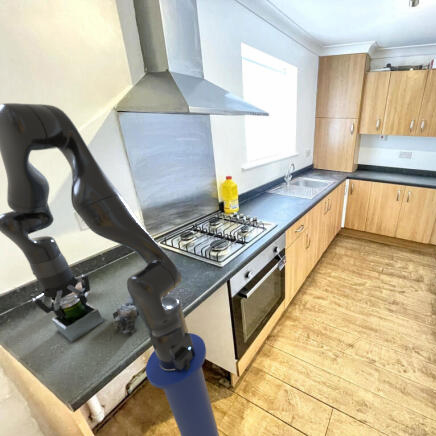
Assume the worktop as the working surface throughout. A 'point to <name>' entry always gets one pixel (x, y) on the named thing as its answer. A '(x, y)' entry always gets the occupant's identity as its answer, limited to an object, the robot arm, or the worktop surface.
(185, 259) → the worktop surface
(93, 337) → the worktop surface
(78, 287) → the garlic bulb
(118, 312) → the foil
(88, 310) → the open square box
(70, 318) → the beer can
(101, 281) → the worktop surface
